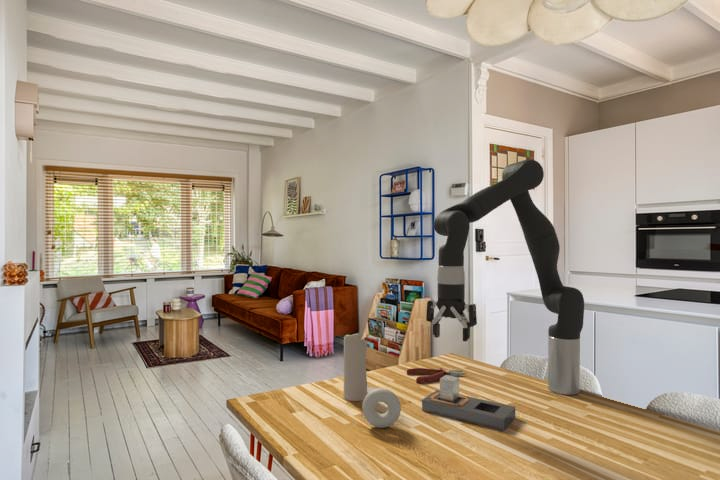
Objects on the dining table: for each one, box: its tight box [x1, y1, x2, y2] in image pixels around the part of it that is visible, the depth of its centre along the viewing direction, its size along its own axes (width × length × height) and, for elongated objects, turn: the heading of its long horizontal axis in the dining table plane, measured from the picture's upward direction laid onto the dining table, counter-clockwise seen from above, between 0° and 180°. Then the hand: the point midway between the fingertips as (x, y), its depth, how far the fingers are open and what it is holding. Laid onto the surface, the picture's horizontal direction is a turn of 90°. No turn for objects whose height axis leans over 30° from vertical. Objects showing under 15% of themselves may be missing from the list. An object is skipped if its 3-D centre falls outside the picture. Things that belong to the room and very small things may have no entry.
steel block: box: [439, 375, 460, 404], centre depth 127 cm, size 4×4×9 cm
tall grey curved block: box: [343, 333, 378, 402], centre depth 139 cm, size 7×14×20 cm, turn 148°
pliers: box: [406, 367, 467, 384], centre depth 157 cm, size 12×20×3 cm, turn 104°
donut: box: [361, 387, 402, 429], centre depth 115 cm, size 10×3×10 cm, turn 86°
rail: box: [421, 389, 516, 432], centre depth 124 cm, size 10×23×3 cm, turn 55°
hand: (450, 338), depth 127 cm, fingers open, 8 cm apart
